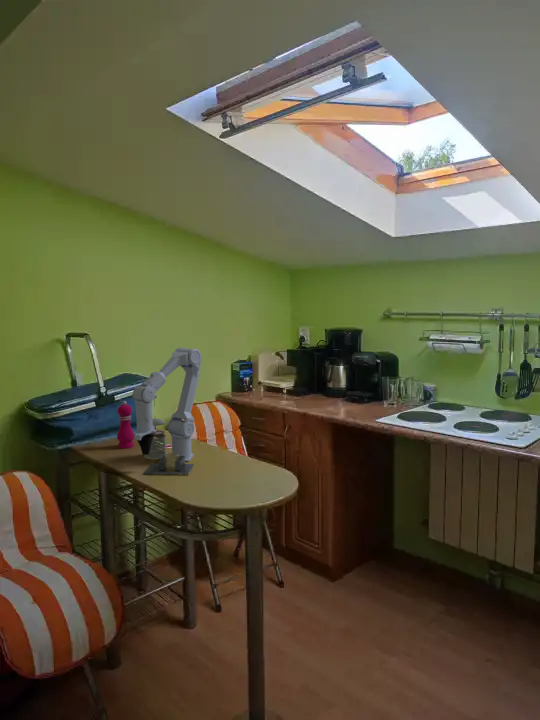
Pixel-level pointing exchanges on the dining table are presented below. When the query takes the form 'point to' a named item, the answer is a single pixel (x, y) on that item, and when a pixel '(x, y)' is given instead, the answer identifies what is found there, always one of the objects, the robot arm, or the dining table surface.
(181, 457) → the vise
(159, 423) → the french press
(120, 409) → the pepper mill
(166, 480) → the dining table surface
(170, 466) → the brass block
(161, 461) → the sliding jaw
